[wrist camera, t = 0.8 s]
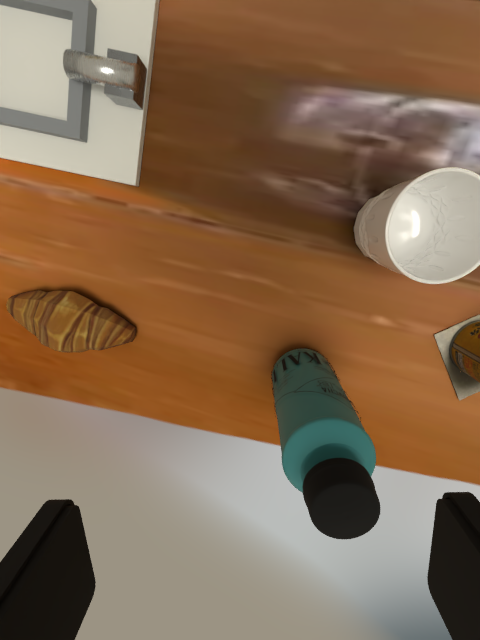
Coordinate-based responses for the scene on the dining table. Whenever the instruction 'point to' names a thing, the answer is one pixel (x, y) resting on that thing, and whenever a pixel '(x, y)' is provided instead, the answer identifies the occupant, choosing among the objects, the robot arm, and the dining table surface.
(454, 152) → the dining table surface
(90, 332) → the croissant
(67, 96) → the board
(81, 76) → the shaft
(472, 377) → the condiment
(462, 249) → the white cup
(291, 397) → the beverage bottle
